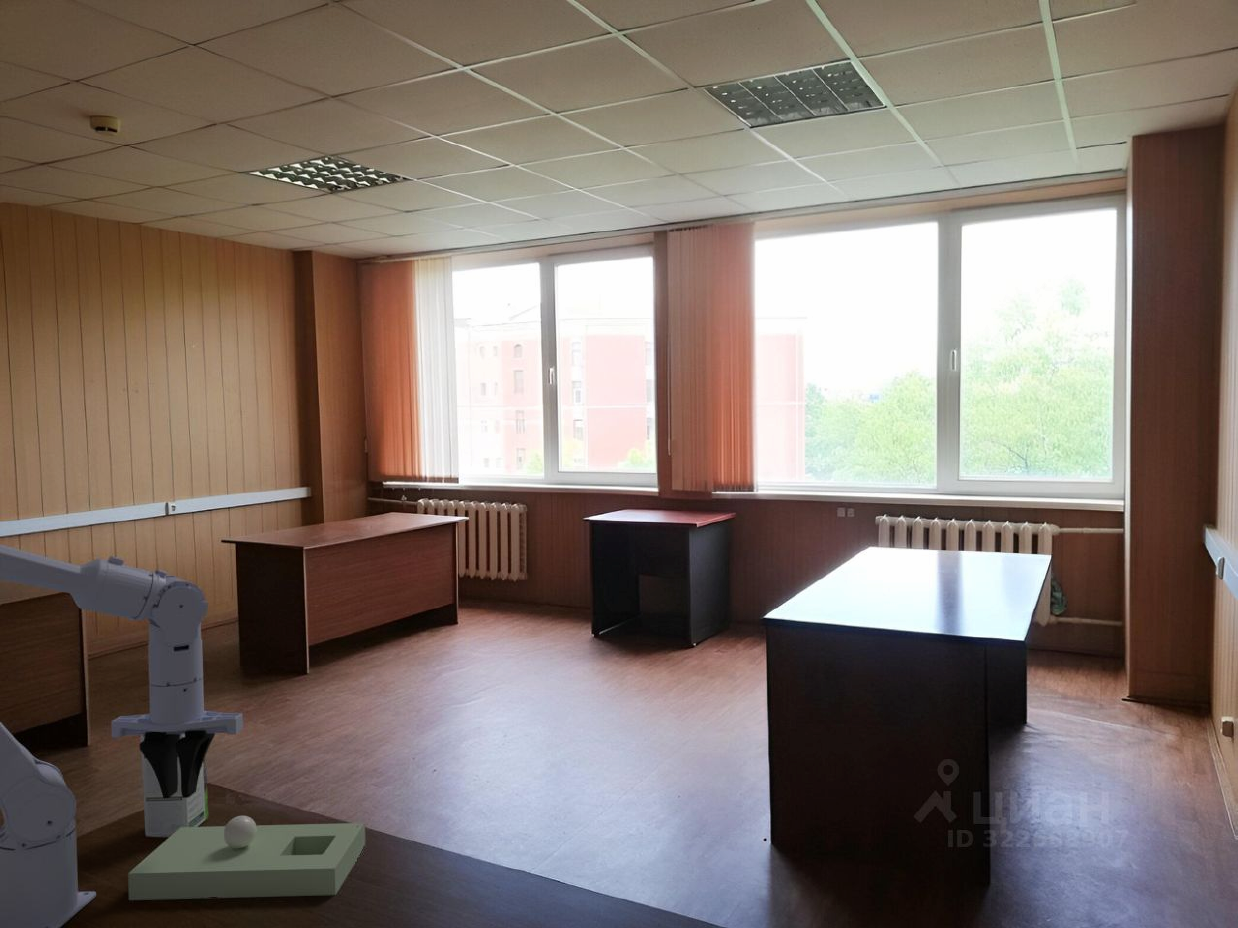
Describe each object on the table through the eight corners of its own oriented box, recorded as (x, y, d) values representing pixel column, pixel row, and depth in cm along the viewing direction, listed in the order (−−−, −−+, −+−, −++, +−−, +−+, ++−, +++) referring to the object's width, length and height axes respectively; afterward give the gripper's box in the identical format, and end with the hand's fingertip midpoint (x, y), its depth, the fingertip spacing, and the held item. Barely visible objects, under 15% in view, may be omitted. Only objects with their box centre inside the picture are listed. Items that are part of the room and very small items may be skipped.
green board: (128, 899, 98) (128, 873, 98) (181, 850, 110) (180, 827, 110) (335, 894, 99) (334, 868, 98) (365, 846, 111) (364, 822, 110)
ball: (218, 854, 103) (217, 823, 102) (231, 840, 106) (231, 810, 106) (249, 853, 103) (248, 822, 103) (261, 839, 106) (261, 810, 106)
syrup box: (187, 837, 114) (184, 726, 114) (142, 837, 114) (139, 726, 114) (209, 818, 120) (206, 712, 120) (166, 819, 120) (163, 713, 120)
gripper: (251, 670, 108) (254, 780, 108) (133, 672, 108) (136, 783, 108) (226, 685, 101) (230, 803, 101) (99, 688, 101) (103, 806, 101)
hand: (179, 794), depth 104 cm, fingers closed
